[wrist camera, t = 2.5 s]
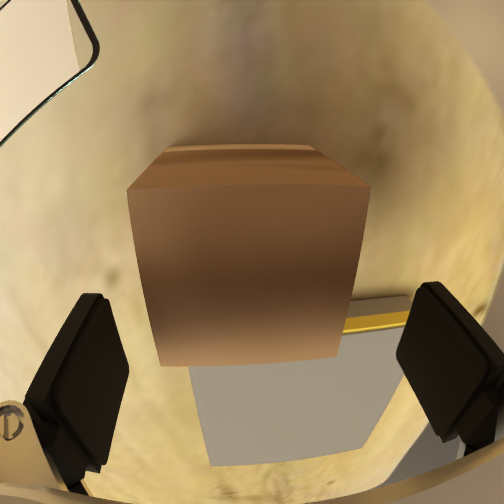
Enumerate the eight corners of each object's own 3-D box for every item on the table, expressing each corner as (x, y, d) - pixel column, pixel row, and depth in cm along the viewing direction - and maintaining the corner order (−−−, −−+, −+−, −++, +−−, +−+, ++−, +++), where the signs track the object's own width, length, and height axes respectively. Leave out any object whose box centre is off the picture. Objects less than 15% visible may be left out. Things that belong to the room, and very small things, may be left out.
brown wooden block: (168, 146, 14) (126, 190, 8) (307, 144, 14) (370, 186, 8) (179, 268, 17) (161, 366, 11) (298, 264, 17) (336, 356, 11)
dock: (188, 306, 18) (183, 342, 15) (408, 292, 19) (430, 320, 16) (210, 439, 26) (210, 466, 23) (355, 423, 27) (363, 447, 24)
